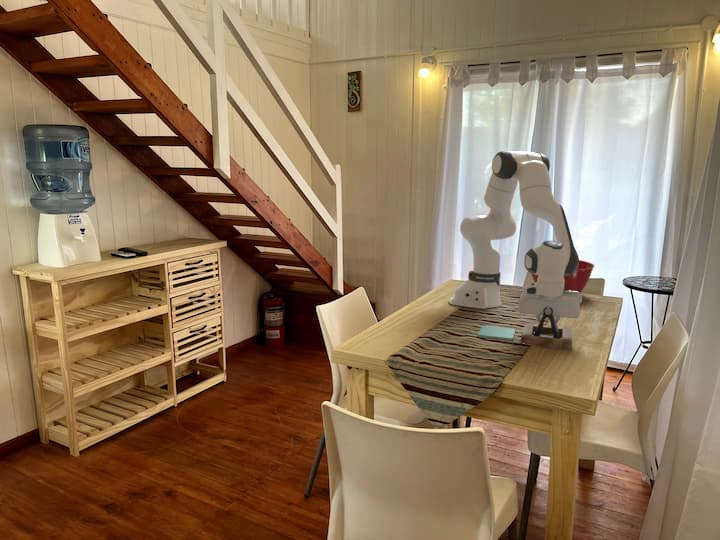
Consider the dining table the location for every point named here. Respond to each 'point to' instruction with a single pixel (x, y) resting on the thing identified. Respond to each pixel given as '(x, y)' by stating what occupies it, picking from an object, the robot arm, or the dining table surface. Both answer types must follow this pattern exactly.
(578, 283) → the mixing bowl
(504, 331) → the teal mat
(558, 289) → the robot arm
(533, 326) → the walnut holder
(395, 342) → the dining table surface
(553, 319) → the dark gray a-frame stand
